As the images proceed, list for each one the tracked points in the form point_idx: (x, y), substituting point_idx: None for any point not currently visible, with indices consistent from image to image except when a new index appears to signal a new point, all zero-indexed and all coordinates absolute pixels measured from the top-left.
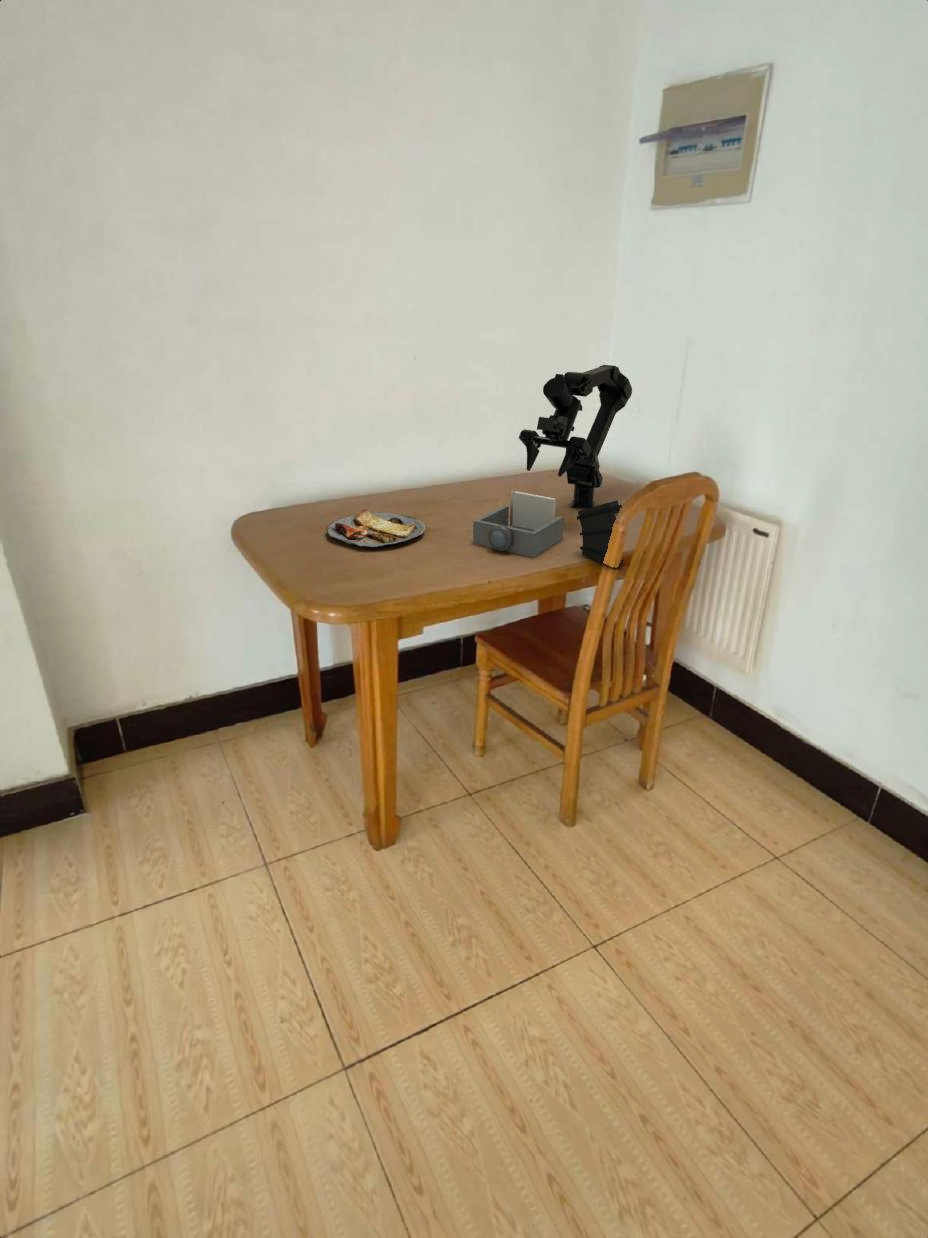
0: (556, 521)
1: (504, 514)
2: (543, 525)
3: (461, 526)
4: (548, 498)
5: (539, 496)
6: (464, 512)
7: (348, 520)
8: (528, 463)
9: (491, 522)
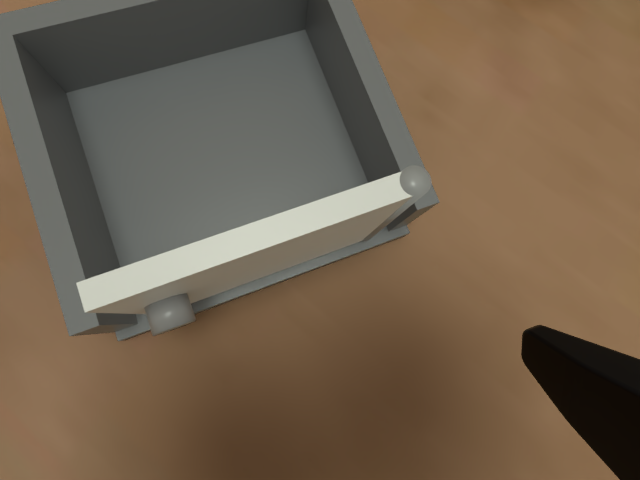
0: (44, 247)
1: None
2: (41, 139)
3: (496, 101)
4: (128, 270)
5: (210, 249)
6: (636, 212)
7: None
8: (593, 359)
9: (343, 77)
